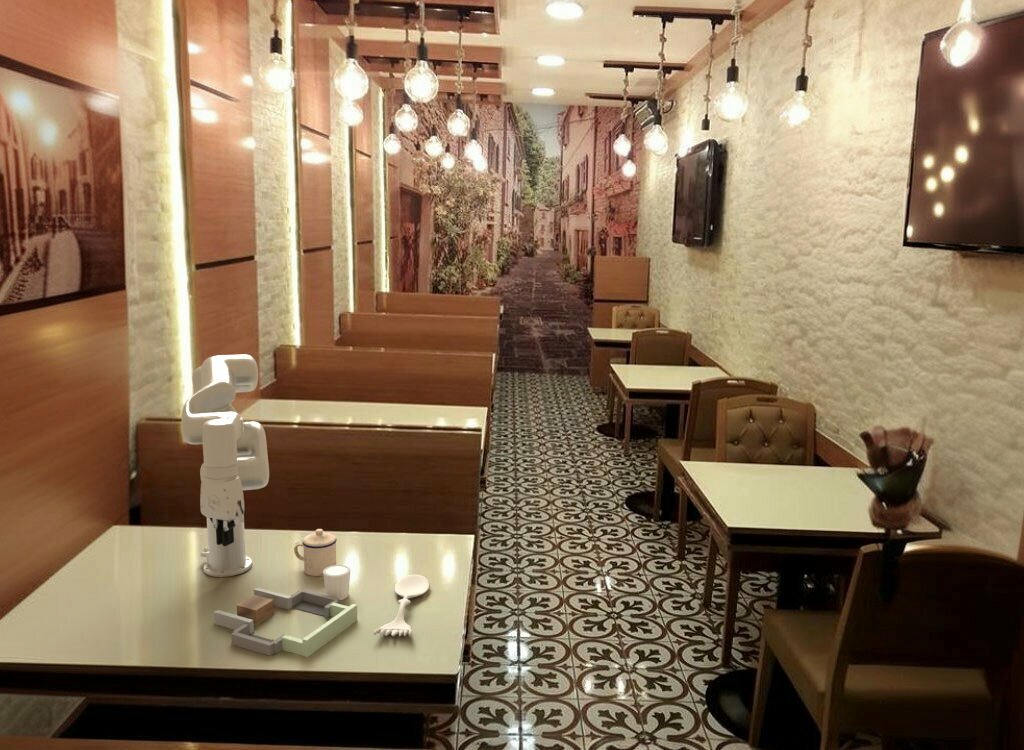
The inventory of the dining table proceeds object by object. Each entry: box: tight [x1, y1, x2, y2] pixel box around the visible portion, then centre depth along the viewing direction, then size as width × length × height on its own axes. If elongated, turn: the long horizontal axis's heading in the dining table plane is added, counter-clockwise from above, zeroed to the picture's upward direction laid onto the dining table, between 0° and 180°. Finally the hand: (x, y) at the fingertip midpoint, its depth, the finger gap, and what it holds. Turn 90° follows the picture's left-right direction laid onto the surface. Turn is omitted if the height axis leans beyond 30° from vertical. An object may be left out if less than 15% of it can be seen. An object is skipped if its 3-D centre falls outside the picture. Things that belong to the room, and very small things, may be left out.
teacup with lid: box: [293, 528, 337, 577], centre depth 215 cm, size 12×9×12 cm
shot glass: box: [322, 564, 351, 601], centre depth 200 cm, size 7×7×7 cm
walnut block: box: [235, 594, 275, 626], centre depth 189 cm, size 6×6×4 cm
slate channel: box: [213, 587, 358, 658], centre depth 186 cm, size 29×18×4 cm, turn 65°
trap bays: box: [230, 589, 341, 657], centre depth 185 cm, size 12×25×2 cm, turn 155°
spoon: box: [373, 574, 431, 637], centre depth 193 cm, size 9×32×4 cm, turn 177°
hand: (225, 543), depth 190 cm, fingers closed
